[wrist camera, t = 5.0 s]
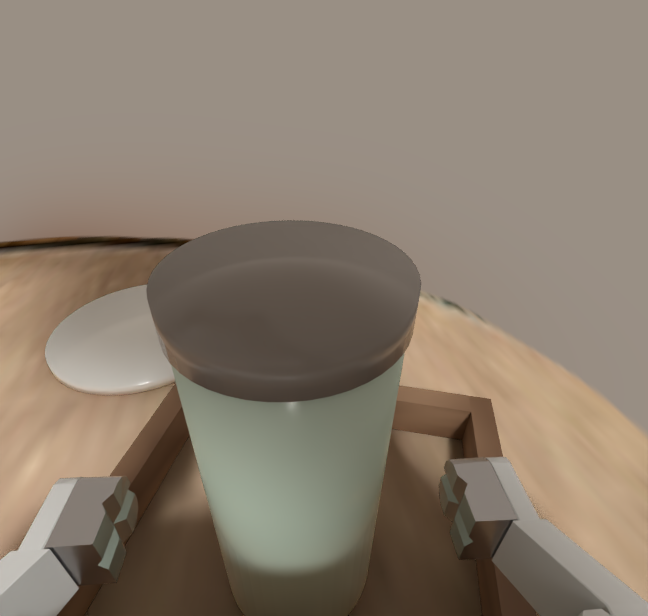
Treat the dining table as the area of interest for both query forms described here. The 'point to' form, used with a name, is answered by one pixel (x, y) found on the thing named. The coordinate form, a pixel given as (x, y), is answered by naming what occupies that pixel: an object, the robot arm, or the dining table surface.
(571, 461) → the dining table surface
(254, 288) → the sage jar
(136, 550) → the dining table surface
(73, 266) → the dining table surface
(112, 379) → the coaster
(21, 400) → the dining table surface
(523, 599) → the walnut box
